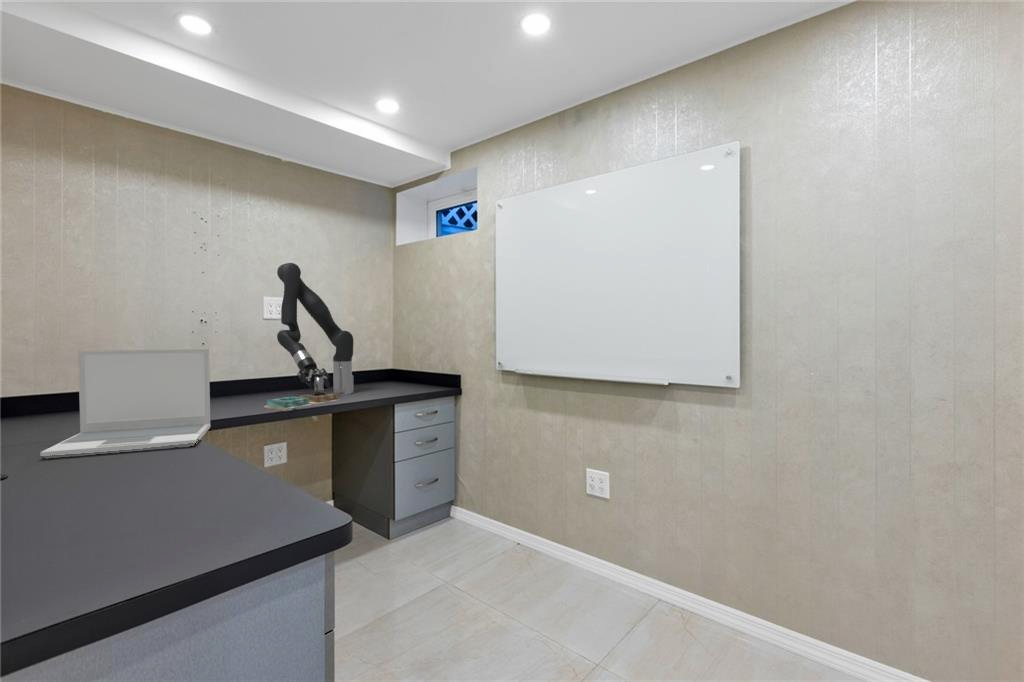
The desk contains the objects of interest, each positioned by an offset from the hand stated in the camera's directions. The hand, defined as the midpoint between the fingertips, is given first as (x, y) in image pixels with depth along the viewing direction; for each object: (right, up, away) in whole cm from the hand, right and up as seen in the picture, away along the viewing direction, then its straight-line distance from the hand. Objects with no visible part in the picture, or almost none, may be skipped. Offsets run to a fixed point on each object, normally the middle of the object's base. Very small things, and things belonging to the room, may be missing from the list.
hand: (321, 387), depth 223 cm
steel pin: (-1, -6, +1) cm, 6 cm away
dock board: (-5, -7, -6) cm, 11 cm away
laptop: (-26, -10, -77) cm, 82 cm away
